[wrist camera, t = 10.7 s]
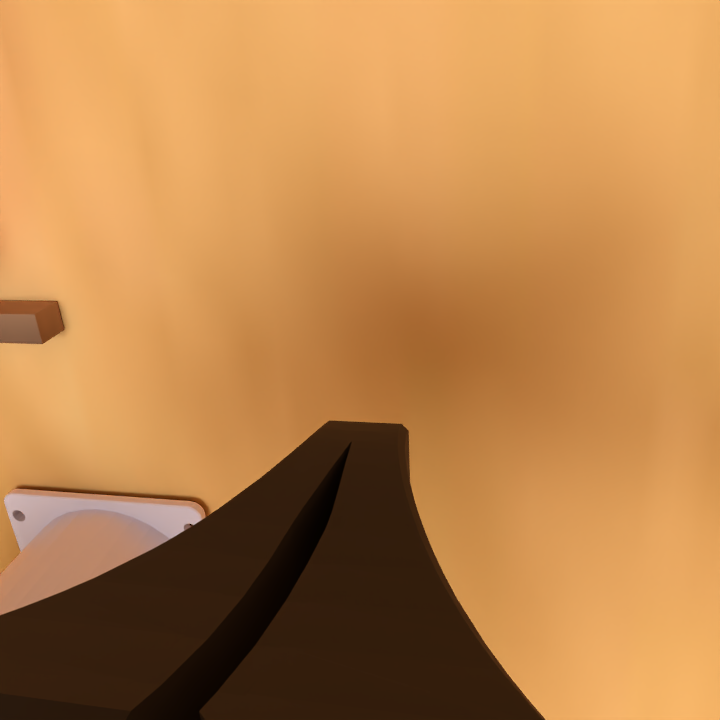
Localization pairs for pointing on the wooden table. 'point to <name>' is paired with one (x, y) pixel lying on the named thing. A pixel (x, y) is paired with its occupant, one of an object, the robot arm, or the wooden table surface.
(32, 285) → the wooden table surface
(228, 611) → the robot arm
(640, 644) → the wooden table surface
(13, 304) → the frame
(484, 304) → the wooden table surface
